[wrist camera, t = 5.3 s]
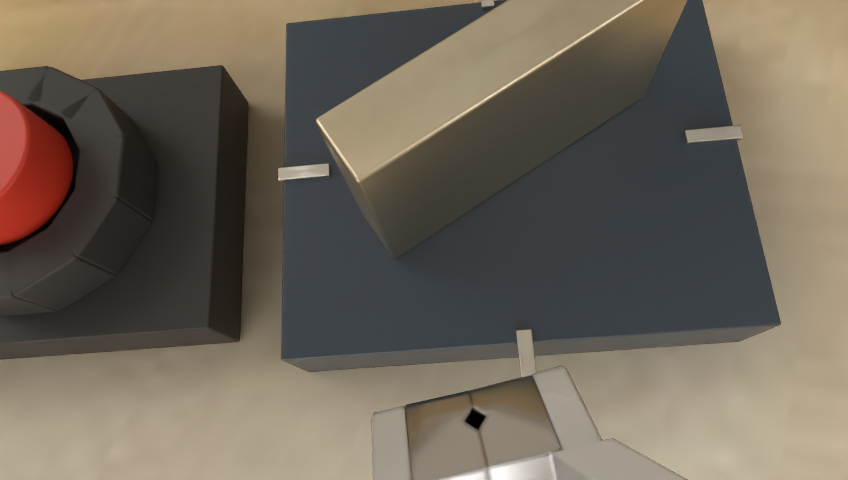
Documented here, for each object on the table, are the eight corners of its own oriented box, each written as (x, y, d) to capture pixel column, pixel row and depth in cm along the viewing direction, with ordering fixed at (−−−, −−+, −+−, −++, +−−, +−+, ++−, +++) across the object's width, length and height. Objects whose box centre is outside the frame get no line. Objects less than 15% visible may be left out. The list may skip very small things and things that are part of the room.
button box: (-82, 365, 19) (-223, 345, 15) (-35, 130, 21) (-146, 63, 18) (240, 341, 18) (176, 314, 14) (249, 102, 21) (197, 26, 17)
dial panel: (304, 412, 17) (273, 406, 15) (305, 43, 21) (281, -11, 19) (753, 382, 17) (801, 371, 14) (669, 4, 20) (695, -57, 18)
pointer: (394, 261, 16) (353, 177, 11) (362, 213, 16) (309, 111, 11) (644, 97, 17) (712, -50, 12) (605, 56, 17) (655, -102, 12)
